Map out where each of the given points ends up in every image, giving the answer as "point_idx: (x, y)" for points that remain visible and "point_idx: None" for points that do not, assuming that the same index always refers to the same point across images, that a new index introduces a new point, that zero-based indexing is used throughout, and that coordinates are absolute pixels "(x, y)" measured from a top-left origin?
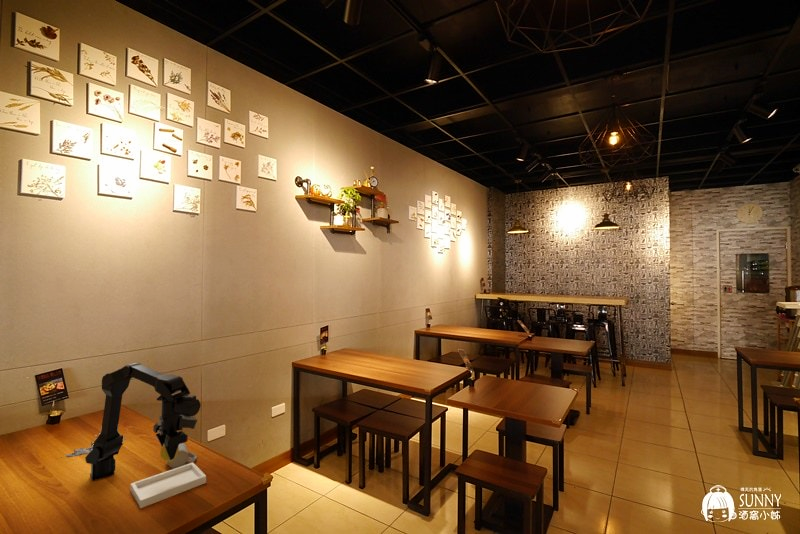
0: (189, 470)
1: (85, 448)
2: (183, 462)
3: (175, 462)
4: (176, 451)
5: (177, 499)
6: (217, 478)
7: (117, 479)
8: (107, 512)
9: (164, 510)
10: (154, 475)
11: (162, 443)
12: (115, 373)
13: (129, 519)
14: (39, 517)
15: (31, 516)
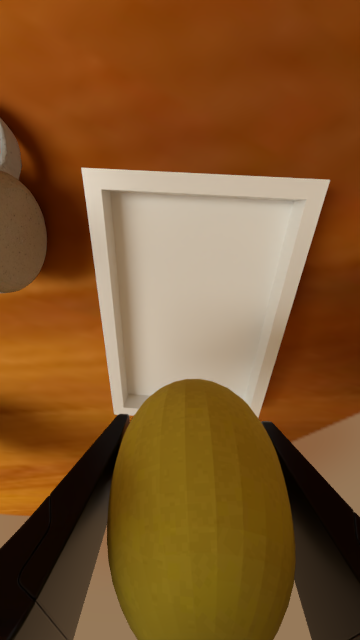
0: (128, 207)
1: None
2: (32, 208)
3: (27, 253)
4: (273, 450)
5: (310, 324)
6: (329, 104)
7: (15, 399)
8: None
9: (329, 368)
10: (107, 355)
11: (84, 578)
12: None
13: (277, 426)
14: None
15: None
